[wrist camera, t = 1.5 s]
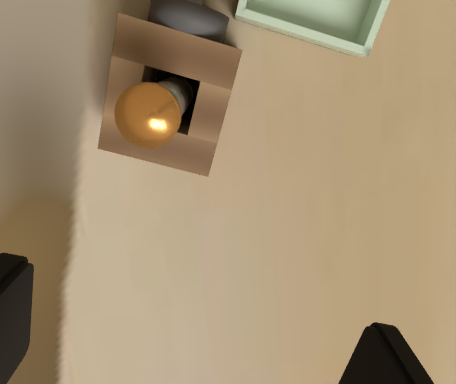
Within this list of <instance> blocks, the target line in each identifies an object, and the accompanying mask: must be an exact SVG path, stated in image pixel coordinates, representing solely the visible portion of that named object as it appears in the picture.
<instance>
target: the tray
mask: <svg viewBox="0 0 456 384" xmlns="http://www.w3.org/2000/svg"><path fill="white" fill-rule="evenodd" d="M389 2H390V0H239V2H238V6H237V10H236V14H235V18H234V19H237V20H240V21H243V22H246V23H249V24H253V25H256V26H259V27H262V28H265V29H269V30H272V31H275V32H278V33H281V34H285V35H288V36H291V37H294V38H297V39H301V40H304V41H307V42H310V43H313V44H317V45H320V46H323V47H326V48H329V49H333V50H336V51H339V52H342V53H345V54H349V55H352V56H368V55H369V53H370V50H371V47H372V45H373V42H374V40H375V37H376V35H377V32H378V30H379V27H380V25H381V22H382V19H383V17H384V14H385V12H386V9H387V7H388V4H389Z"/></svg>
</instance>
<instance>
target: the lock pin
mask: <svg viewBox="0 0 456 384" xmlns="http://www.w3.org/2000/svg"><path fill="white" fill-rule="evenodd" d="M192 98H193V91H192V88H191V86H190V84H189V83H188V82H187V81H186V80H185V79H183V78H180V77H171V78H168V79H166V80H163V81H160V82H157V83H154V82H142V83H138V84H135V85H132V86H130V87H128V88H127V89H125V90H124V91H123V92H122V93H121V95H120V96H119V97H118V99H117V102H116V104H115V109H114V117H115V122H116V125H117V128H118V130H119V131H120V133H121V134H122V136H123V137H124V138H125V139H126V140H127V141H129V142H130V143H132V144H133V145H135V146H138V147H141V148H147V149H152V148H158V147H161V146H163V145H165V144H166V143H168V142H169V141H170V140H171V139H172V138H173V137H174V135H175V134H176V132H177V131H178V129H179V126H180V123H181V116H182V115H183V113H184V112H185V110H186V109H187V108H188V106H189V105H190V103H191V101H192Z"/></svg>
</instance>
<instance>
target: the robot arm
mask: <svg viewBox="0 0 456 384" xmlns="http://www.w3.org/2000/svg"><path fill="white" fill-rule="evenodd" d="M33 272H34V266H33V264H30V263H28V259H27V258H26V257H24V256H19V255H13V254H8V253H1V254H0V384H7V382H8V381H9V379H10V378H11V376H12V375H13V373H14V371H15V370H16V369H17V367H18V365H19V364H20V362H21V361H22V359H23V358H24V356H25V354H26V352H27V350H28V347H29V342H30V326H31V308H32V290H33ZM339 384H434V383H433V381H432V380H431V378H430V377H429V375H428V374H427V372H426V371H425V369H424V368H423V366H422V365H421V363H420V362H419V360H418V359H417V357H416V356H415V354H414V353H413V351H412V350H411V348H410V347H409V345H408V344H407V342H406V341H405V339H404V338H403V336H402V335H401V333H400V332H399V330H398V329H397V328H396V327H395V326H393V325H387V324H382V323H377V322H375V323H372V324H371V325H370V326H367V327H366V328H365V329H364V331H363V333H362V335H361V337H360V339H359V342H358V344H357V346H356V348H355V350H354V352H353V354H352V356H351V358H350V360H349V363H348V365H347V367H346V369H345V371H344V373H343V375H342V377H341V379H340V381H339Z"/></svg>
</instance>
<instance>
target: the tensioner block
mask: <svg viewBox="0 0 456 384" xmlns="http://www.w3.org/2000/svg"><path fill="white" fill-rule="evenodd" d="M203 2H204V0H151V5H150V10H149V16H148V21H145V20H142V19H138V18H135V17H132V16H129V15H125V14H122V13H119V12H118V16H117V23H116V30H115V36H114V43H113V50H112V57H111V63H110V70H109V77H108V83H107V90H106V97H105V104H104V110H103V117H102V124H101V130H100V137H99V144H98V149H102V150H106V151H110V152H114V153H117V154H121V155H125V156H129V157H133V158H137V159H141V160H145V161H149V162H152V163H156V164H160V165H164V166H168V167H172V168H176V169H180V170H183V171H187V172H191V173H195V174H199V175H203V176H207V177H208V175H209V172H210V168H211V164H212V160H213V157H214V153H215V149H216V146H217V142H218V138H219V135H220V131H221V127H222V124H223V120H224V116H225V113H226V109H227V105H228V102H229V98H230V94H231V91H232V87H233V83H234V79H235V76H236V72H237V68H238V65H239V61H240V57H241V54H242V50H241V49H237V48H234V47H231V46H228V45H224V44H223V41H224V37H225V33H226V29H227V25H228V21H229V18H228V17H227V16H226V15H224V14H222V13H220V12H217V11H215V10H213V9H210V8H207V7H205V6H203ZM157 69H160V70H163V71H167V72H170V73H174V74H177V75H181V76H184V77H188V78H191V79H194V80H198V81H200V85H199V90H198V94H197V98H196V102H195V106H194V111H193V115H192V119H191V121H187V120H183V119H181V123H180V126H179V129H178V131H177V132H176V134H175V135H174V137H173V138H172V139H171V140H170V141H169V142H168V143H166V144H165V145H163V146H161V147H158V148H152V149H147V148H141V147H138V146H135V145H133V144H132V143H130V142H129V141H127V140H126V139H125V138H124V137H123V136H122V134H121V133H120V131H119V130H118V128H117V125H116V122H115V117H114V109H115V104H116V102H117V99H118V97H119V96H120V95H121V93H122V92H123V91H124V90H125V89H127V88H128V87H130V86H132V85H135V84H138V83H142V82H154V83H155V79H156V74H157Z"/></svg>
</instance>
